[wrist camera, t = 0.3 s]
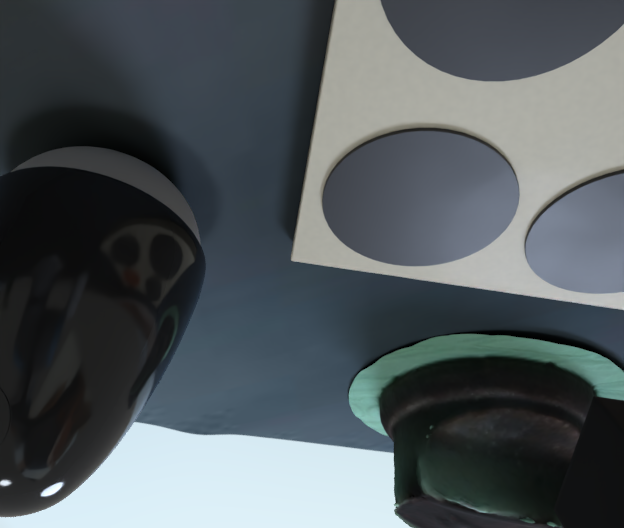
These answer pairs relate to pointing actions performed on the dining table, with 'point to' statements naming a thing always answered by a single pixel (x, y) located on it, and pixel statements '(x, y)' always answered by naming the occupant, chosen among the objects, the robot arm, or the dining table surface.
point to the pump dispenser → (85, 312)
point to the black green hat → (482, 425)
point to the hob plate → (472, 146)
